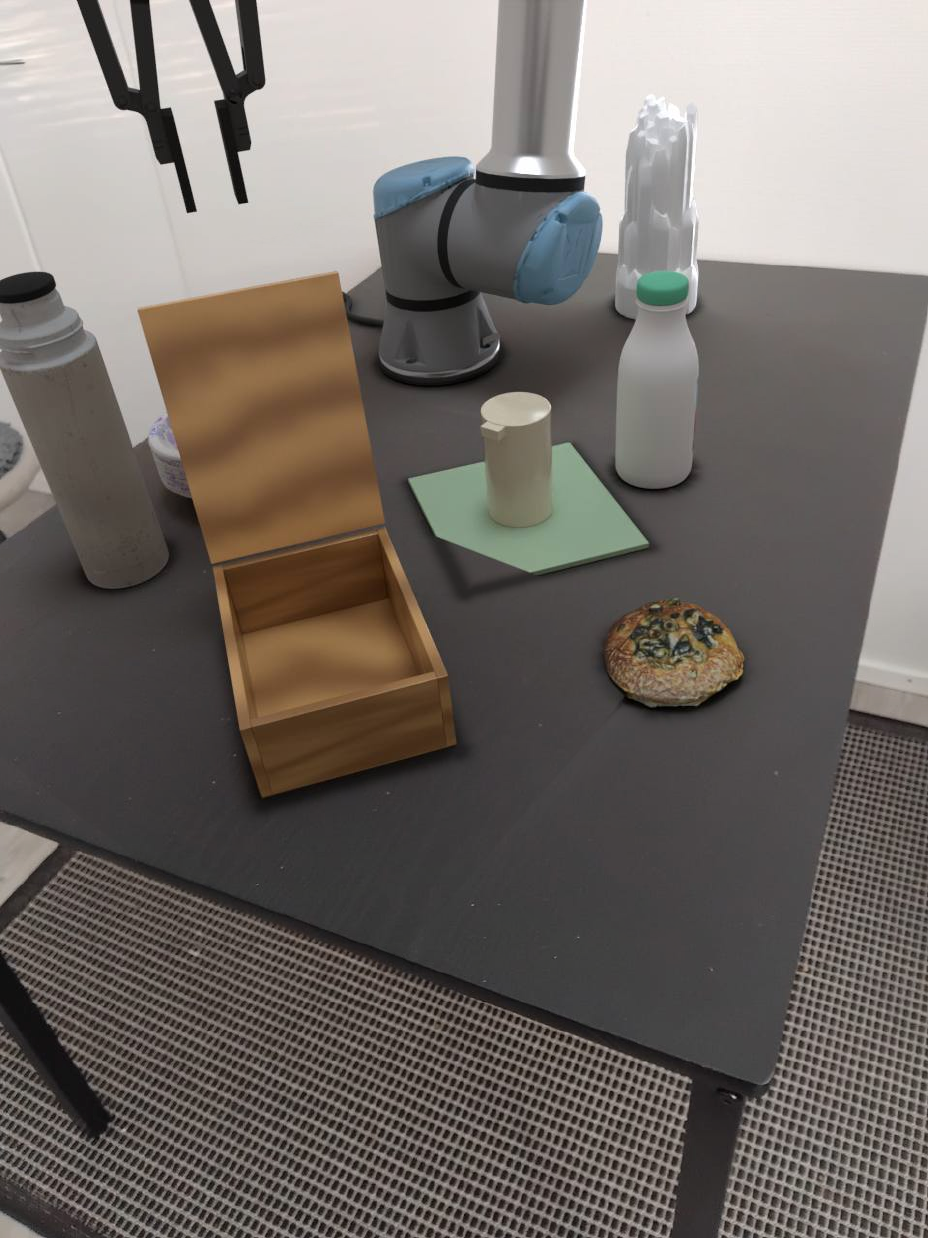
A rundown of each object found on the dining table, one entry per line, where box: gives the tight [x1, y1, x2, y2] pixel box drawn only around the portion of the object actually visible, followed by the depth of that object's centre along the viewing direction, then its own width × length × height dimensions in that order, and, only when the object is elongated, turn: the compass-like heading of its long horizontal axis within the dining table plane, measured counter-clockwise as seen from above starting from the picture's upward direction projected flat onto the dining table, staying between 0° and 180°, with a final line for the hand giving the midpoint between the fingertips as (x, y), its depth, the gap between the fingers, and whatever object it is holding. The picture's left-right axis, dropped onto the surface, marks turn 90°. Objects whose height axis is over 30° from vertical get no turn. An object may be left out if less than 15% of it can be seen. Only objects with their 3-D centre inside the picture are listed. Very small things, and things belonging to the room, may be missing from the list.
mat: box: [407, 441, 650, 576], centre depth 96 cm, size 20×18×1 cm
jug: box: [480, 391, 553, 528], centre depth 93 cm, size 9×6×11 cm
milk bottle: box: [614, 271, 700, 490], centre depth 94 cm, size 8×8×20 cm
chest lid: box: [137, 270, 386, 565], centre depth 78 cm, size 20×15×5 cm
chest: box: [212, 526, 457, 799], centre depth 77 cm, size 20×15×8 cm
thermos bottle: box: [0, 271, 170, 590], centre depth 86 cm, size 8×8×28 cm
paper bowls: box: [147, 411, 192, 499], centre depth 102 cm, size 15×15×8 cm
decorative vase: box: [614, 93, 699, 320], centre depth 124 cm, size 11×11×25 cm
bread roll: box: [603, 597, 746, 708], centre depth 77 cm, size 11×11×5 cm
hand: (215, 202), depth 73 cm, fingers open, 3 cm apart
